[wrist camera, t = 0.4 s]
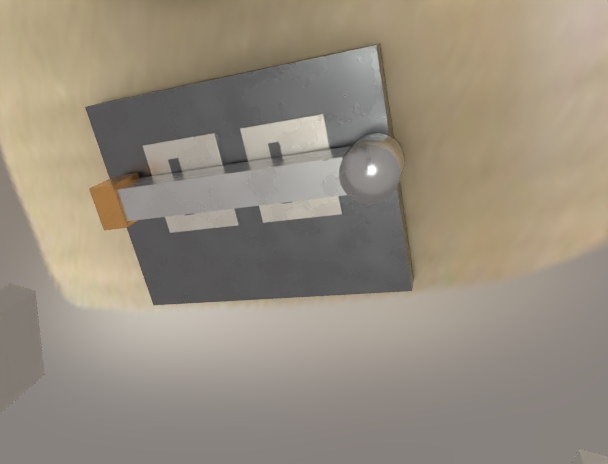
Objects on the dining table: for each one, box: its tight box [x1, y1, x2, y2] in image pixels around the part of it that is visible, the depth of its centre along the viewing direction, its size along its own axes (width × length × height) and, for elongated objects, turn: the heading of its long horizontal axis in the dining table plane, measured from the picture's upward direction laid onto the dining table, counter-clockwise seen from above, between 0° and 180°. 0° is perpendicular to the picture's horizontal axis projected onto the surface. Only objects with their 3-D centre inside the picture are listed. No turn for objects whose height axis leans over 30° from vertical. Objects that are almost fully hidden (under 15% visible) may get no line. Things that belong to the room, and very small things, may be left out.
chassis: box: [85, 44, 414, 305], centre depth 37 cm, size 17×22×2 cm
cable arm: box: [89, 133, 404, 230], centre depth 34 cm, size 22×4×4 cm, turn 102°
